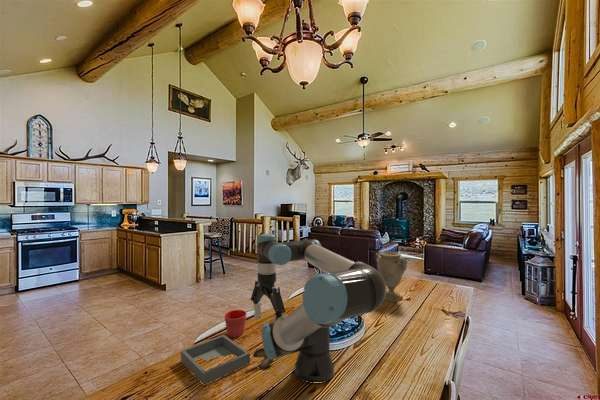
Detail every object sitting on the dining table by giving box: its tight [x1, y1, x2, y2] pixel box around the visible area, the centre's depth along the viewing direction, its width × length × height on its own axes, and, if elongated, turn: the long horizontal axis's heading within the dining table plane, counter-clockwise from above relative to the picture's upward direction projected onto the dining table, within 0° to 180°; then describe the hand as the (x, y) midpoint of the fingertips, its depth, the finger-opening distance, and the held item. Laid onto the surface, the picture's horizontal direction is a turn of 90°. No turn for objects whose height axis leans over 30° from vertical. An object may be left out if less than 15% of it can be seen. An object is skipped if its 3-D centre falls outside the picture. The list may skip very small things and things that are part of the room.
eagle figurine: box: [252, 347, 274, 370], centre depth 115 cm, size 8×7×9 cm
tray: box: [180, 334, 251, 385], centre depth 115 cm, size 21×19×4 cm
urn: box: [375, 251, 408, 303], centre depth 187 cm, size 24×18×30 cm
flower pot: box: [224, 309, 247, 338], centre depth 140 cm, size 11×11×10 cm
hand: (267, 323), depth 116 cm, fingers open, 13 cm apart
